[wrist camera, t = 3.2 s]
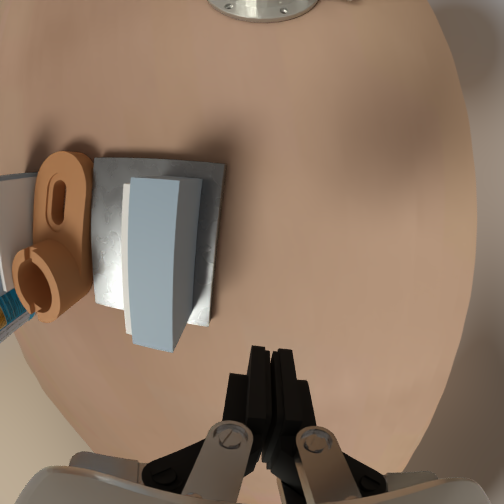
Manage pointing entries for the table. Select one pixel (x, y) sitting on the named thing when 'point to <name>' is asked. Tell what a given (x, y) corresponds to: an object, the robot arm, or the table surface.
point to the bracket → (58, 238)
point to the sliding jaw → (159, 257)
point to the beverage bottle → (12, 314)
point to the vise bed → (110, 221)
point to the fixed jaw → (15, 221)
